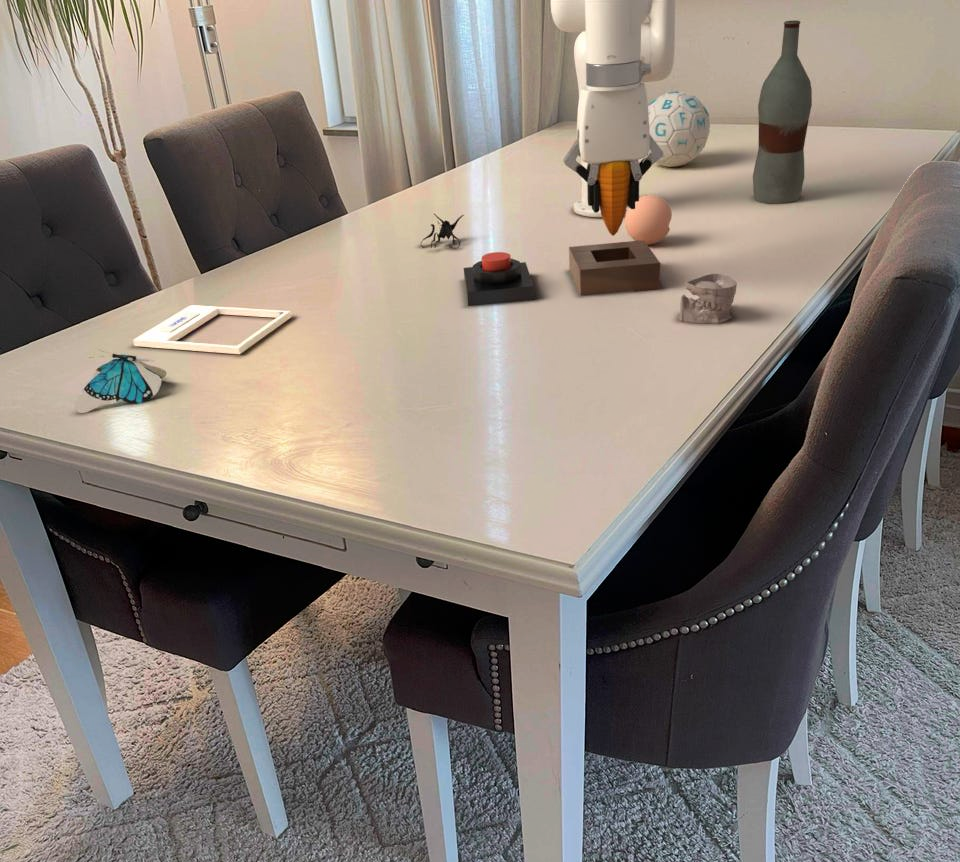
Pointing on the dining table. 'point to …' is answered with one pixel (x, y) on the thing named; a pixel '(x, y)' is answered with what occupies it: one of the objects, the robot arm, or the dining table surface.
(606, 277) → the holder
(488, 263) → the button
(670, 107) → the puzzle ball
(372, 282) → the dining table surface
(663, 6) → the robot arm
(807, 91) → the bottle
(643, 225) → the toy ball
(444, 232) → the creature
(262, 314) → the photo frame
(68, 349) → the dining table surface
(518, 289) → the panel
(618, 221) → the carrot
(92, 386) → the decorative butterfly
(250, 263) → the dining table surface
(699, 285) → the dental mold
